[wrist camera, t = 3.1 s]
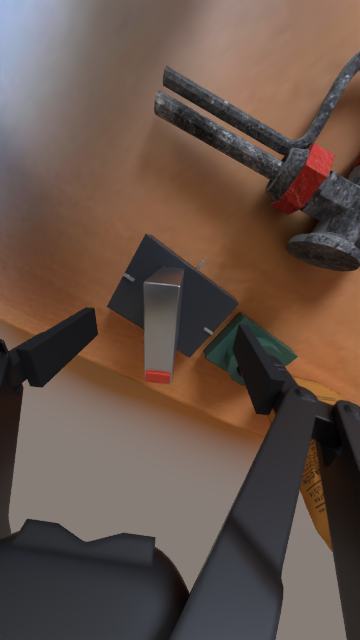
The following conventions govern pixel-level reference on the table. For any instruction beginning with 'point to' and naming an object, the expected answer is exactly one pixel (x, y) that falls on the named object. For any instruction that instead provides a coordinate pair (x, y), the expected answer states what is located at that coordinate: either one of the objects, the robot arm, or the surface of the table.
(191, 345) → the base
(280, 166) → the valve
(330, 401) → the coffee package
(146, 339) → the tap lever
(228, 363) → the drain button box
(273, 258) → the table surface
